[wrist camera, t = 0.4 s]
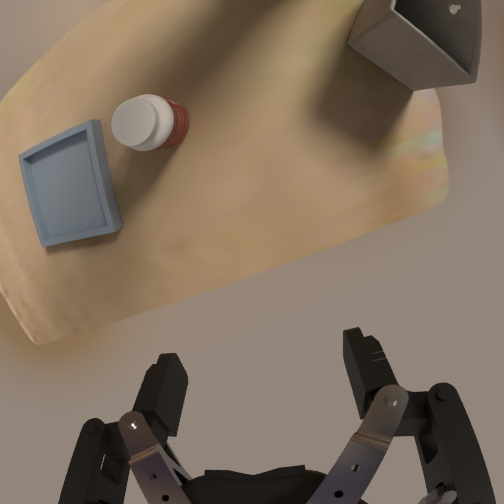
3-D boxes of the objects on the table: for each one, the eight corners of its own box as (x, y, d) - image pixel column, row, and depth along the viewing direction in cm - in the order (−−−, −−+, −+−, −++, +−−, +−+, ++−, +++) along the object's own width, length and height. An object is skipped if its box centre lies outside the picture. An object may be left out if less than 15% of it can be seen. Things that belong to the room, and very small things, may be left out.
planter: (322, -3, 24) (369, -82, 6) (372, -7, 23) (438, -68, 5) (368, 99, 30) (462, 84, 12) (415, 90, 29) (515, 82, 11)
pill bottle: (190, 97, 31) (162, 84, 21) (192, 144, 33) (165, 150, 23) (144, 104, 31) (103, 97, 21) (146, 149, 33) (106, 158, 23)
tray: (27, 152, 32) (18, 155, 30) (100, 119, 31) (90, 119, 29) (50, 241, 39) (42, 247, 37) (123, 226, 38) (115, 232, 35)
